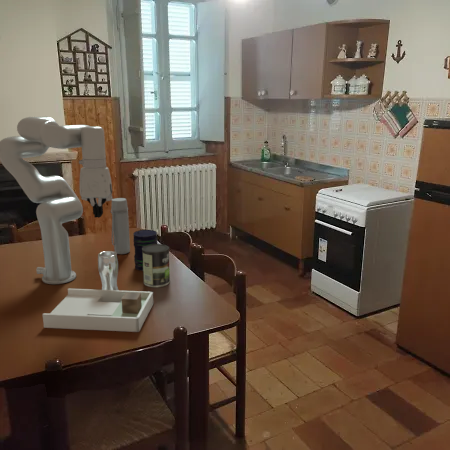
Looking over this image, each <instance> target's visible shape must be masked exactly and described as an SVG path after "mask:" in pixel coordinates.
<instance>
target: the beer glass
mask: <svg viewBox="0 0 450 450" xmlns="http://www.w3.org/2000/svg"><path fill="white" fill-rule="evenodd" d="M118 260H119V259H118V254H117V253H116V252H115V251H112V250H106V251H101V252H99V253H98V254H97V267H98V272H99V276H100V281H101V290H119V288H118V275H119V261H118Z"/></svg>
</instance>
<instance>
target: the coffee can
mask: <svg viewBox="0 0 450 450" xmlns="http://www.w3.org/2000/svg"><path fill="white" fill-rule="evenodd" d="M142 253H143V271H142V272H143V285H144V286H146V287H149V288H162V287H165V286H167V285H169V284H170V283H171V280H170V279H171V278H170V277H171V276H170V275H171V273H170V246H168V245H167V244H162V243H158V244H151V245H147V246H144V247H143V248H142Z"/></svg>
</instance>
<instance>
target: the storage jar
mask: <svg viewBox="0 0 450 450" xmlns="http://www.w3.org/2000/svg"><path fill="white" fill-rule="evenodd" d="M132 236H133V239H132V240H133V247H134V255H133V258H134V259H133V260H134V261H133V262H134V269H136V270H137V271H141V272H143V253H142V248H143V247H144V246H147V245H151V244H159V243H158V232H157V230H154V229H140V230H136V231H134V232H133V235H132Z"/></svg>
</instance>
